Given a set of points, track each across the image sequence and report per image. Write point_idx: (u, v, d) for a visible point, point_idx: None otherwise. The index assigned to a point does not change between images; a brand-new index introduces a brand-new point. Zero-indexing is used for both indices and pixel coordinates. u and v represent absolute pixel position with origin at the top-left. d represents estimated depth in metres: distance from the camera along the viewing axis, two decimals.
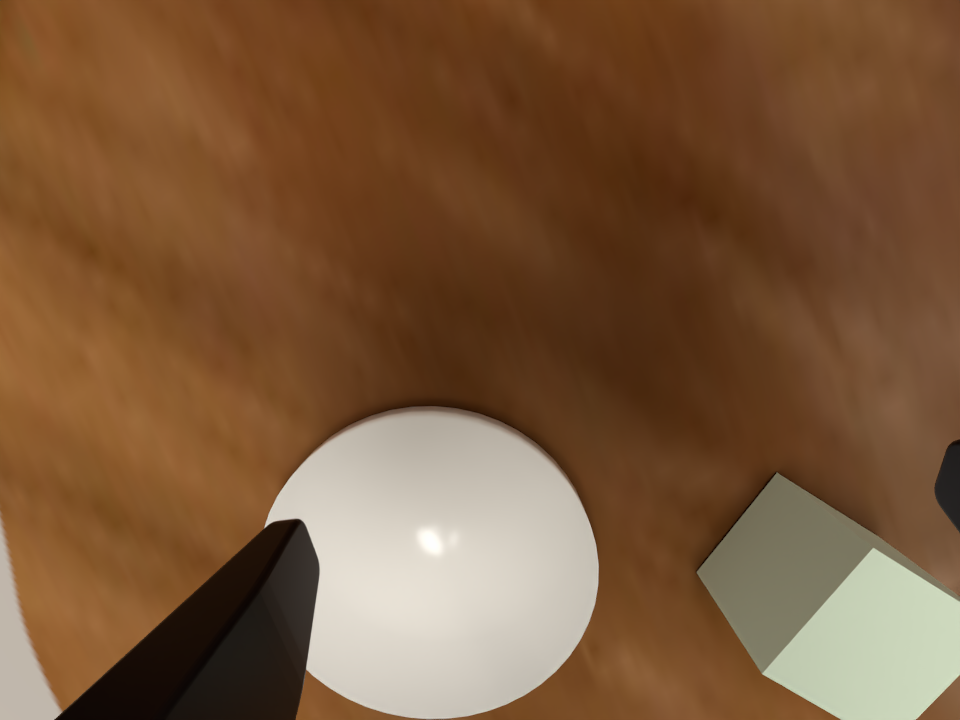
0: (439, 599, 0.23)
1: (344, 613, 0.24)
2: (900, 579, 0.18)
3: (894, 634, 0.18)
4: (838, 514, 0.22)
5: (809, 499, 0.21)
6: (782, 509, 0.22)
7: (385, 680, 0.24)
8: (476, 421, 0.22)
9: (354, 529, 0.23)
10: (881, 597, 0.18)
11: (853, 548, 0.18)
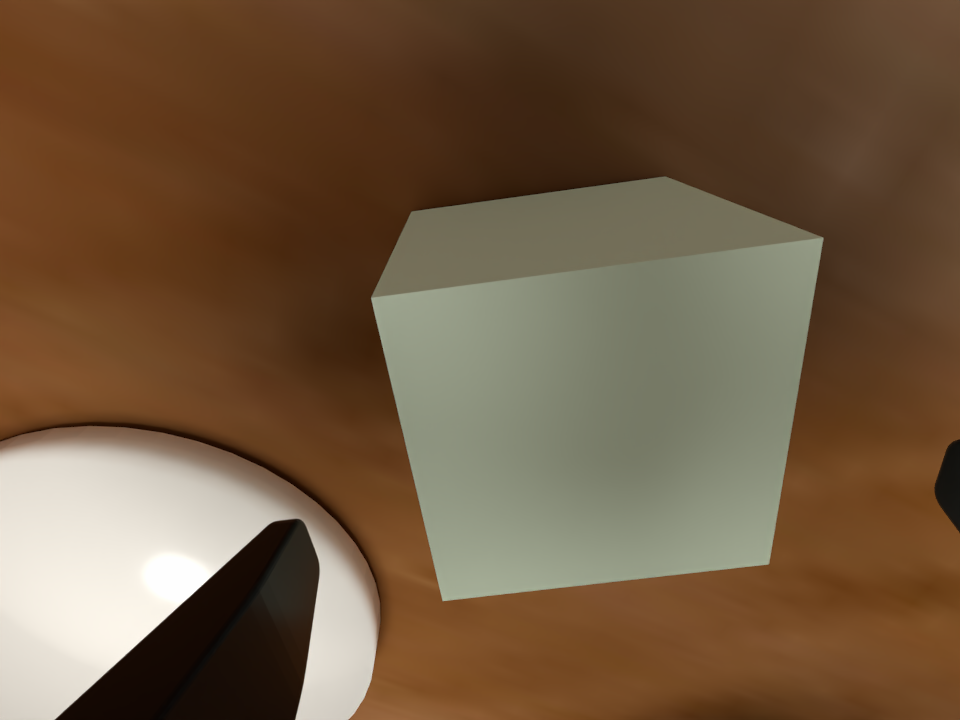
0: None
1: None
2: (491, 312, 0.07)
3: (591, 408, 0.08)
4: (510, 211, 0.11)
5: None
6: None
7: None
8: None
9: (13, 655, 0.17)
10: (496, 369, 0.08)
11: None
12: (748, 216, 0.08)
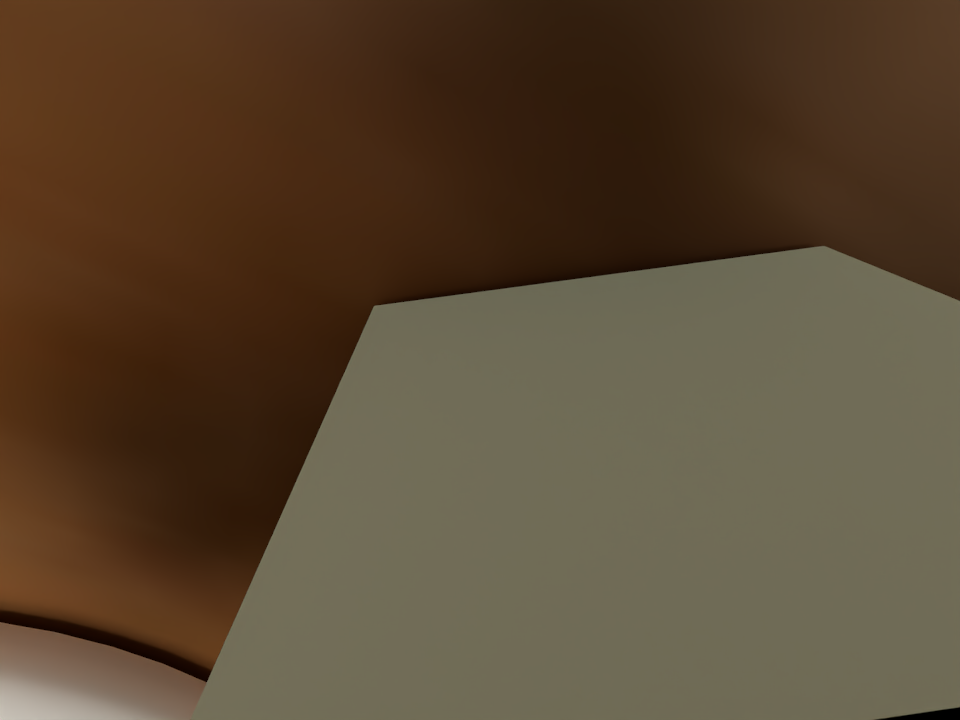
0: None
1: None
2: None
3: None
4: (556, 331, 0.06)
5: (334, 403, 0.05)
6: None
7: None
8: None
9: None
10: None
11: None
12: None
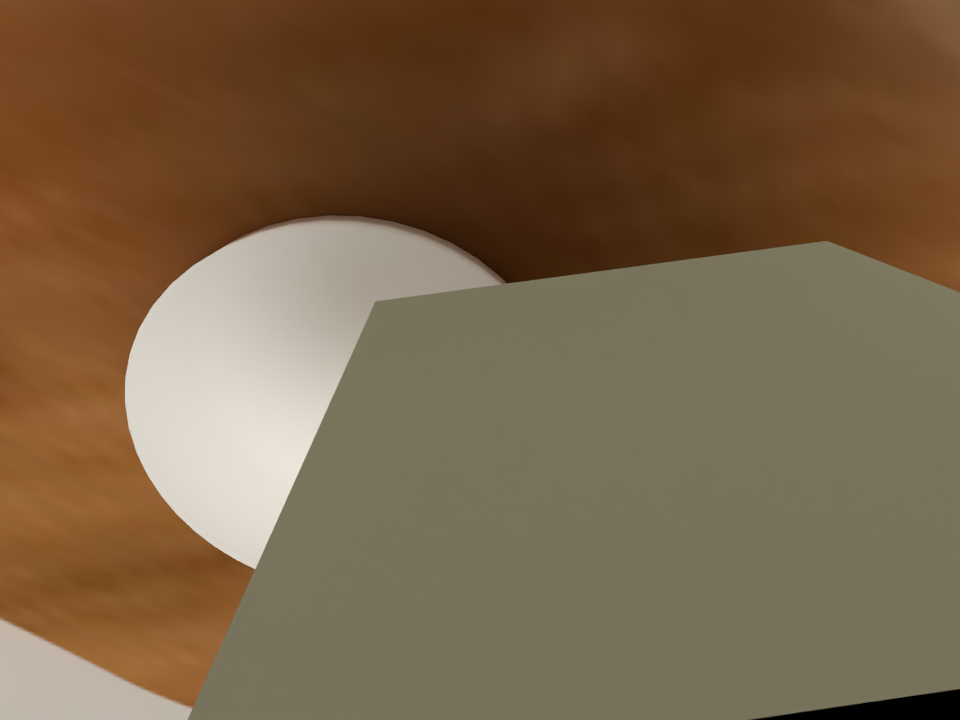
0: None
1: None
2: None
3: None
4: (559, 325, 0.06)
5: (335, 397, 0.05)
6: None
7: None
8: (223, 247, 0.15)
9: (240, 452, 0.18)
10: None
11: None
12: None
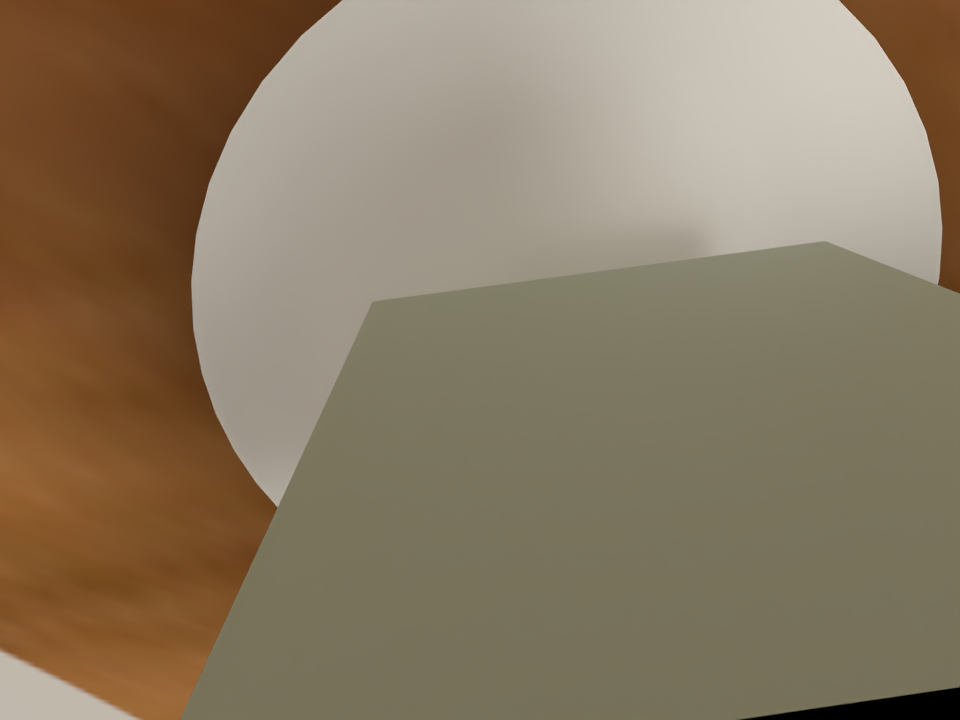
0: None
1: None
2: None
3: None
4: (556, 325, 0.06)
5: (331, 398, 0.05)
6: None
7: None
8: None
9: None
10: None
11: None
12: None
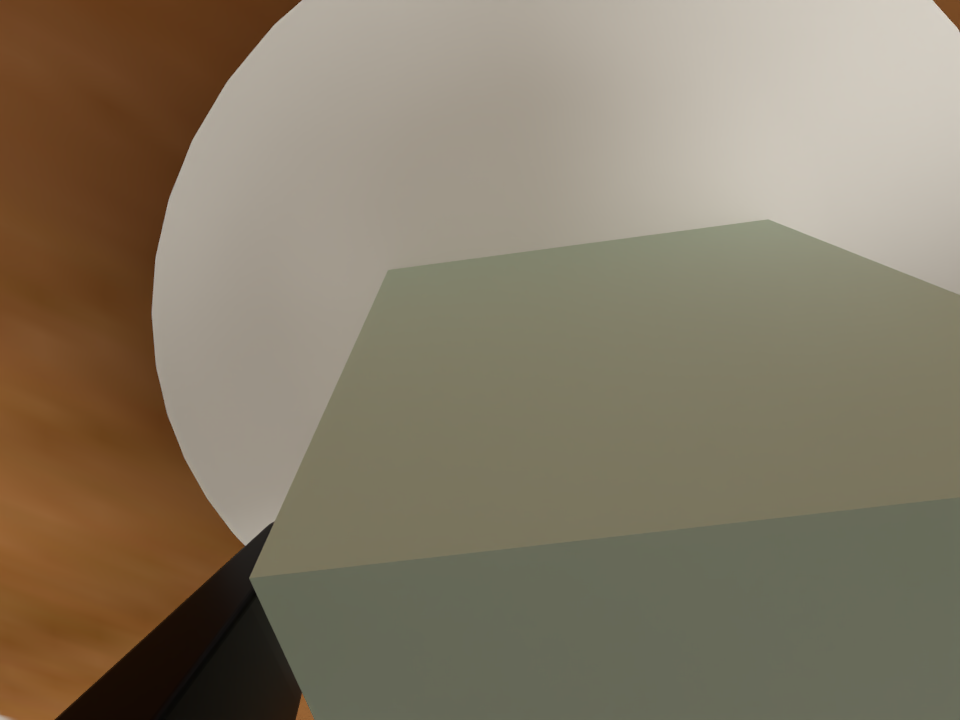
0: None
1: None
2: (533, 600, 0.03)
3: None
4: (539, 283, 0.07)
5: (361, 335, 0.06)
6: None
7: None
8: None
9: None
10: (538, 691, 0.04)
11: None
12: None
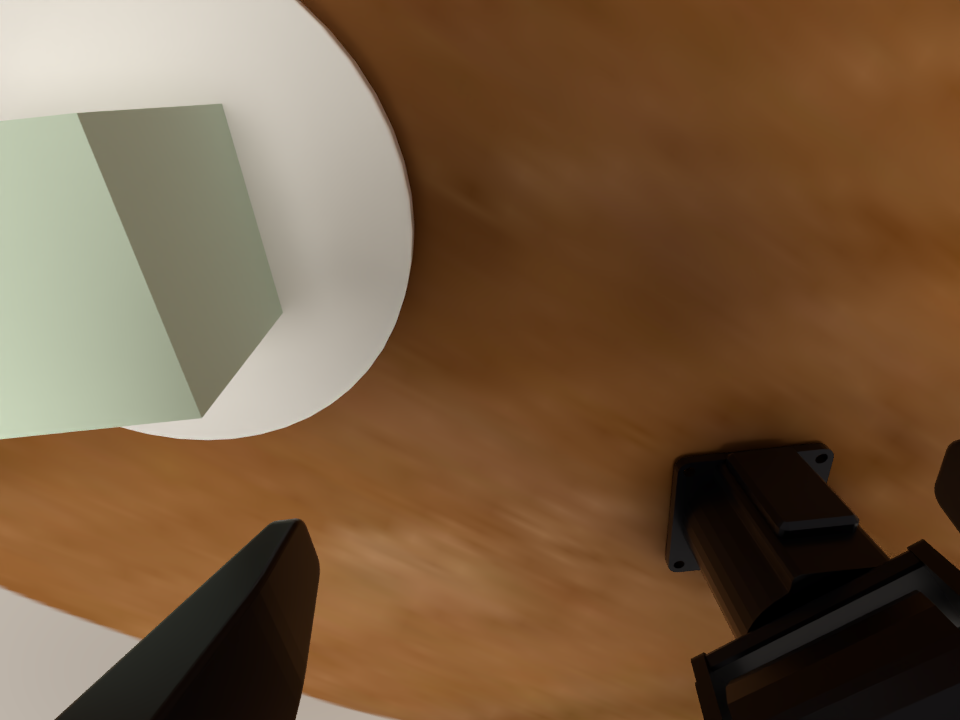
0: None
1: None
2: None
3: None
4: None
5: None
6: None
7: (247, 392, 0.18)
8: None
9: None
10: None
11: None
12: None
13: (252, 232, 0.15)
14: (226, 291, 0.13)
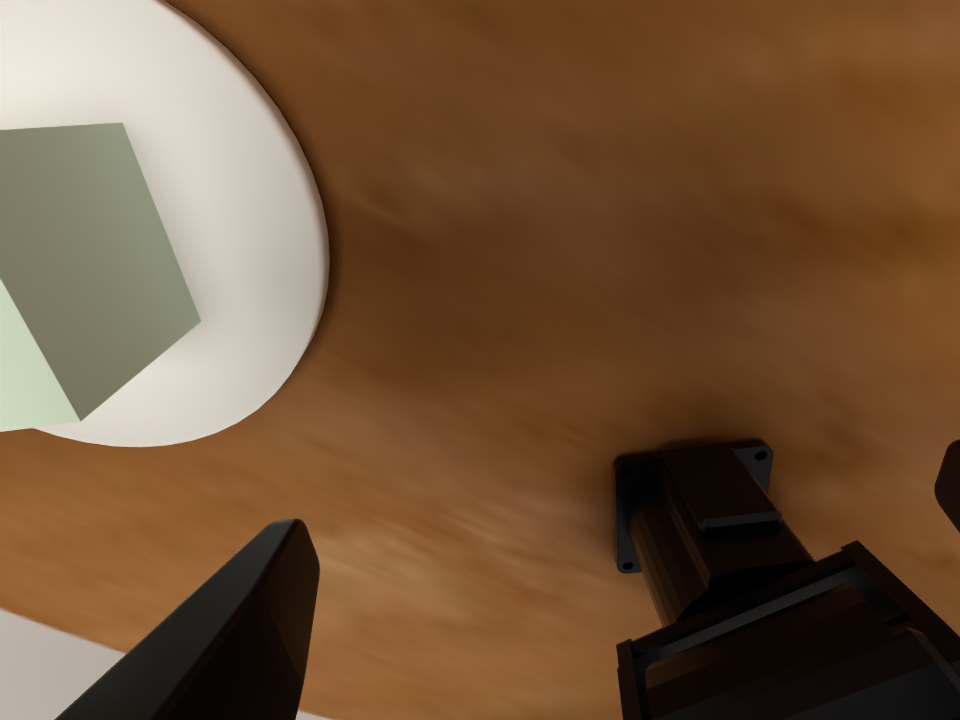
0: None
1: None
2: None
3: None
4: None
5: None
6: None
7: (175, 399, 0.18)
8: None
9: None
10: None
11: None
12: None
13: (160, 244, 0.16)
14: (121, 300, 0.14)
